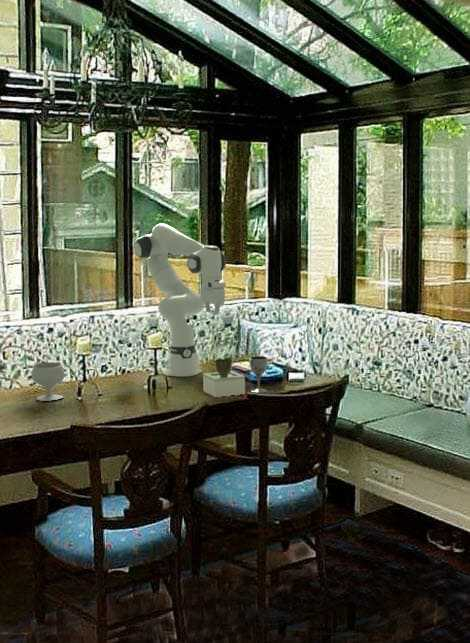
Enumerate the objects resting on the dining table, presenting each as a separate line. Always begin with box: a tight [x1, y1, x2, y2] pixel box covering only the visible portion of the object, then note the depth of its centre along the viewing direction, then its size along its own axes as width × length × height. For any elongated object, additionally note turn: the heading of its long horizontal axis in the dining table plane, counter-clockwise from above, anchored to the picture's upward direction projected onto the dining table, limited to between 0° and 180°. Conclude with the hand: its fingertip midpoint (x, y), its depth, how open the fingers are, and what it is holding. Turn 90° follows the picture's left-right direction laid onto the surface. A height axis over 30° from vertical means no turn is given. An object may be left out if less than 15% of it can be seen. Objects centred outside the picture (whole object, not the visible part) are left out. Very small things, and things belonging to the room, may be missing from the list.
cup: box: [214, 357, 233, 378], centre depth 390 cm, size 8×7×8 cm
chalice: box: [31, 362, 66, 402], centre depth 384 cm, size 14×14×15 cm
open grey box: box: [202, 370, 246, 398], centre depth 391 cm, size 14×14×8 cm
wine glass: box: [249, 355, 268, 394], centre depth 393 cm, size 8×8×15 cm
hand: (212, 313), depth 398 cm, fingers open, 8 cm apart
